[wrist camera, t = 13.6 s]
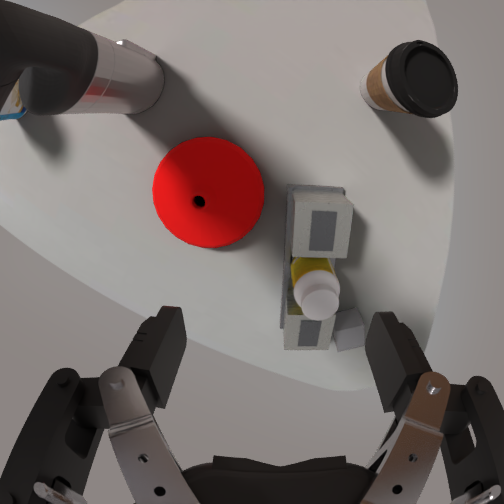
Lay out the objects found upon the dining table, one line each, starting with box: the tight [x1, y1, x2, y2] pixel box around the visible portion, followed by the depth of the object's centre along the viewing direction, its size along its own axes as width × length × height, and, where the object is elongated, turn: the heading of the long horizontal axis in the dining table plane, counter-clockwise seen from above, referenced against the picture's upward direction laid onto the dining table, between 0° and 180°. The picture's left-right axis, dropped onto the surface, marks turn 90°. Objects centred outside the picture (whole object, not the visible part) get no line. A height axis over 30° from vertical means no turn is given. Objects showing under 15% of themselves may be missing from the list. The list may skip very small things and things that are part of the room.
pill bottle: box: [290, 257, 340, 321], centre depth 37 cm, size 6×6×11 cm
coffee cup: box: [360, 40, 458, 118], centre depth 24 cm, size 8×8×15 cm
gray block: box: [333, 308, 365, 352], centre depth 45 cm, size 5×5×5 cm
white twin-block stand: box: [280, 184, 354, 350], centre depth 39 cm, size 24×8×8 cm, turn 0°
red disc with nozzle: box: [152, 137, 264, 248], centre depth 36 cm, size 16×16×7 cm
